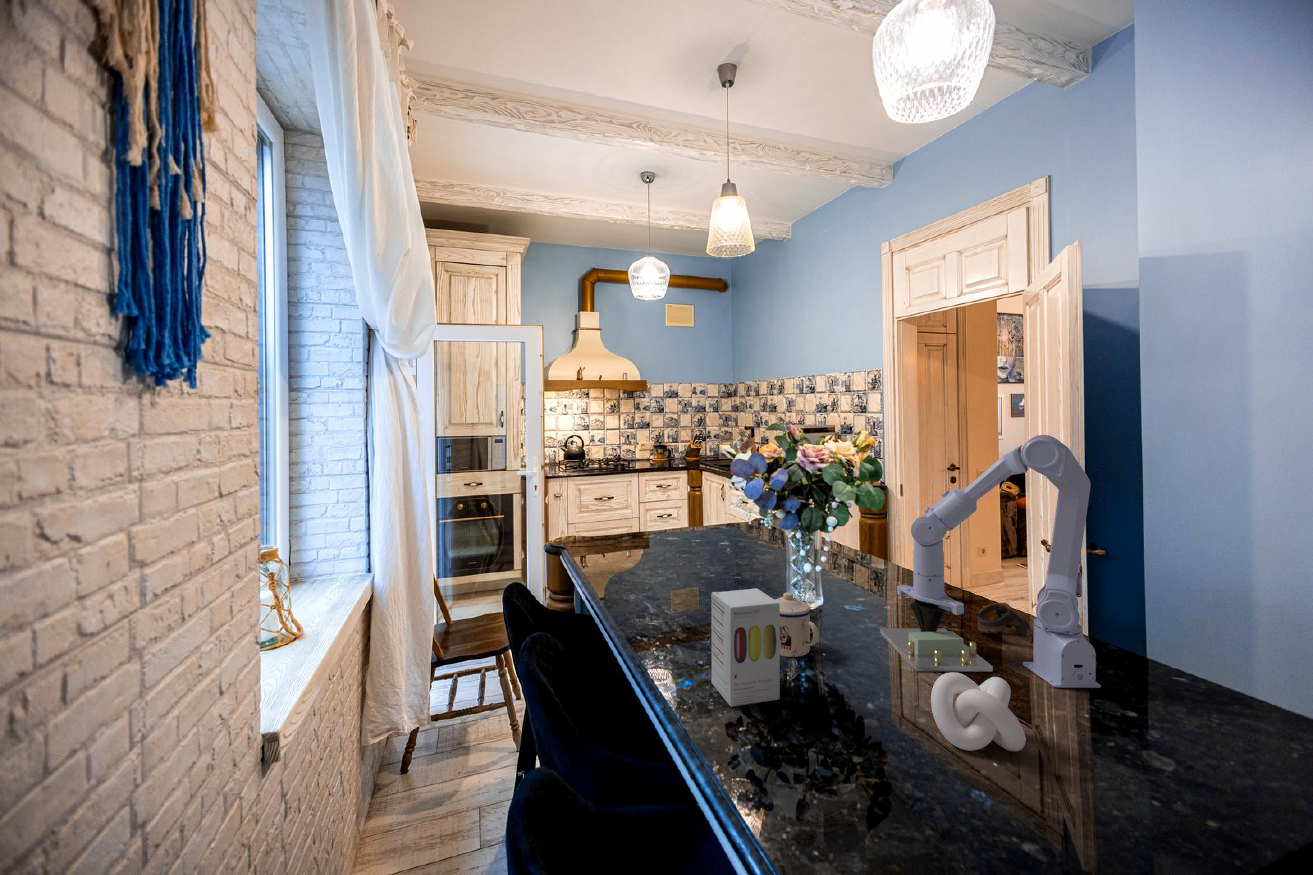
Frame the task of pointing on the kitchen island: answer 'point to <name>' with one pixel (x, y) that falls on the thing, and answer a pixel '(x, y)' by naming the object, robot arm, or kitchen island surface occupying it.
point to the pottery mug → (1003, 620)
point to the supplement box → (746, 646)
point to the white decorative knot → (975, 713)
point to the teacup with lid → (795, 627)
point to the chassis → (935, 654)
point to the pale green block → (936, 642)
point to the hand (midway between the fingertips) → (928, 638)
